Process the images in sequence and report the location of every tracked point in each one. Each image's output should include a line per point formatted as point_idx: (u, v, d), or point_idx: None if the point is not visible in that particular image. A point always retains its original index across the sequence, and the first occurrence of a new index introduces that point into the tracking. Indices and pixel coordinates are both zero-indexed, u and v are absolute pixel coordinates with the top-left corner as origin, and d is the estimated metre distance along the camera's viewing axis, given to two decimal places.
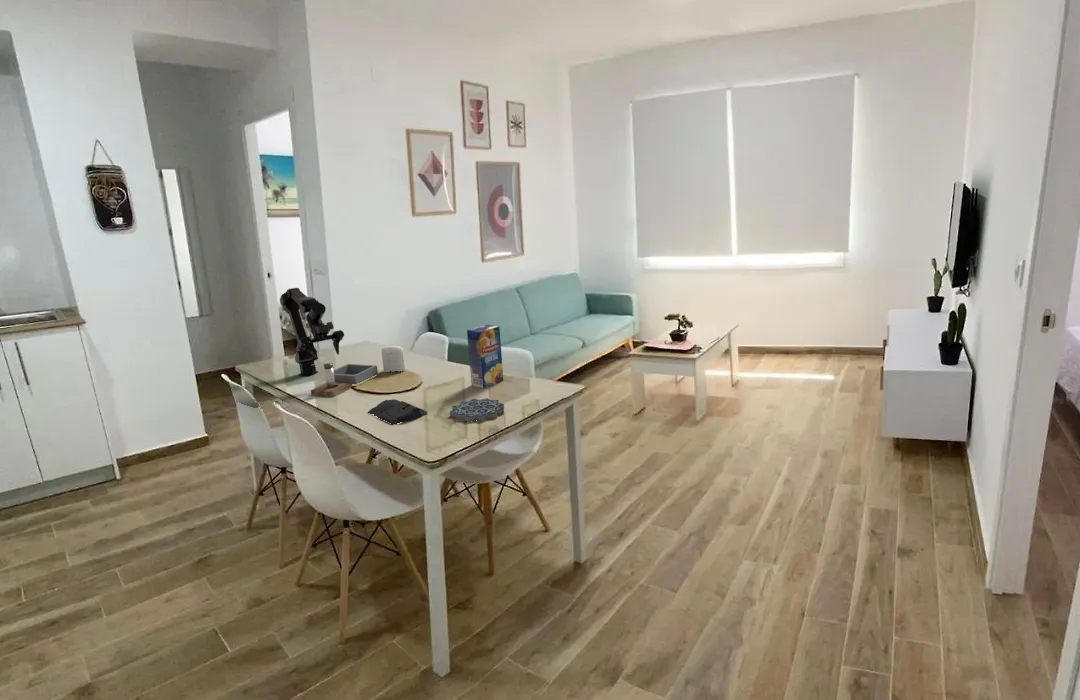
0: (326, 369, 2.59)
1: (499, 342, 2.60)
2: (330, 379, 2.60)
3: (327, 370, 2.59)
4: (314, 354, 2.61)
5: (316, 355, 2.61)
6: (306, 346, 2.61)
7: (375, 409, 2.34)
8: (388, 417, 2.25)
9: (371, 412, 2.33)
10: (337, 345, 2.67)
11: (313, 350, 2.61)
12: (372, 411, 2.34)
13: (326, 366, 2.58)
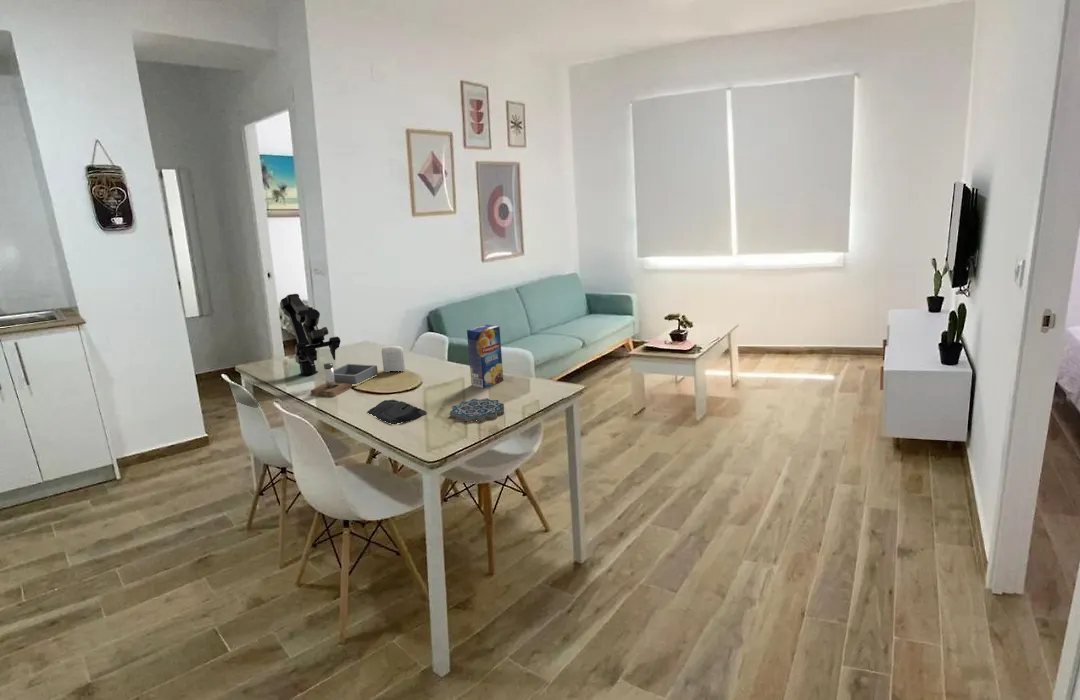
0: (326, 369, 2.59)
1: (499, 342, 2.60)
2: (330, 379, 2.60)
3: (327, 370, 2.59)
4: (310, 359, 2.61)
5: (312, 360, 2.62)
6: (302, 352, 2.62)
7: (374, 409, 2.34)
8: (388, 417, 2.25)
9: (370, 412, 2.33)
10: (333, 350, 2.68)
11: (309, 355, 2.62)
12: (371, 411, 2.33)
13: (326, 366, 2.58)
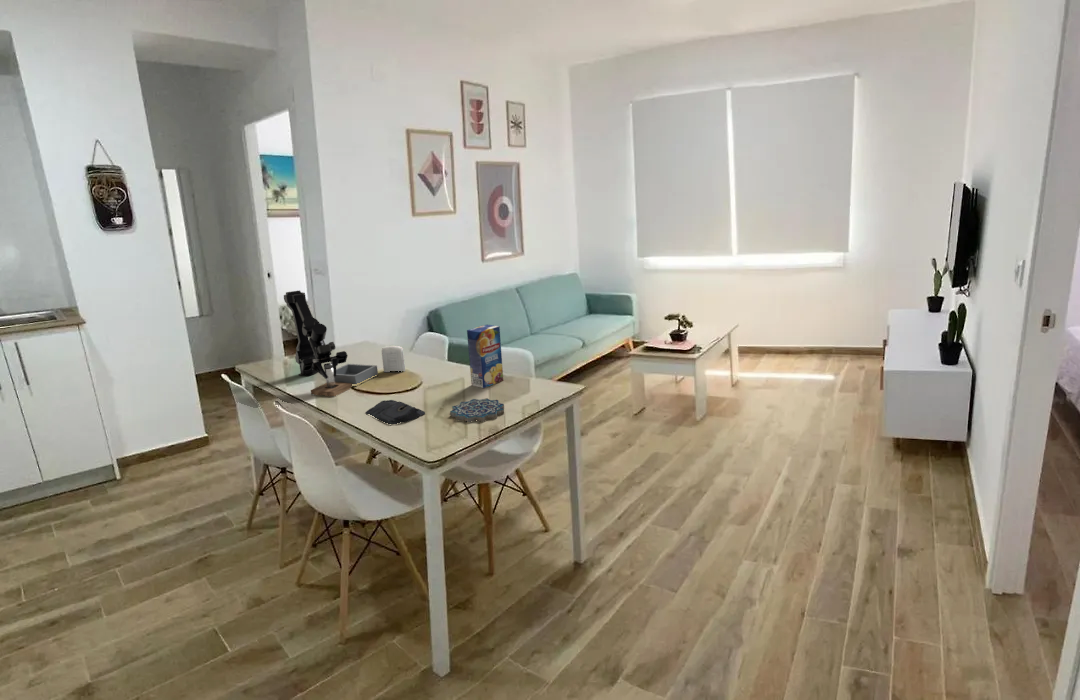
0: (326, 369, 2.59)
1: (499, 342, 2.60)
2: (330, 379, 2.60)
3: (327, 370, 2.59)
4: (323, 373, 2.59)
5: (325, 374, 2.59)
6: (315, 366, 2.60)
7: (373, 409, 2.34)
8: (386, 418, 2.24)
9: (369, 412, 2.33)
10: (334, 367, 2.62)
11: (322, 369, 2.59)
12: (370, 411, 2.33)
13: (326, 366, 2.58)
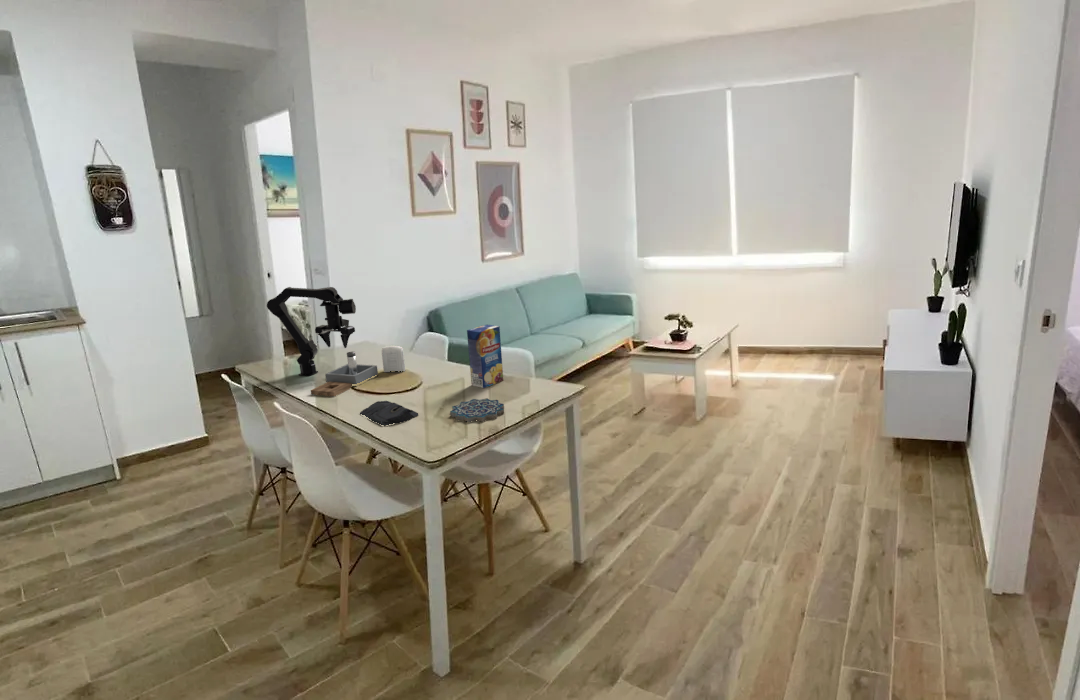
0: (350, 357, 2.73)
1: (499, 342, 2.60)
2: (354, 366, 2.74)
3: (352, 357, 2.73)
4: None
5: None
6: None
7: (366, 410, 2.33)
8: (379, 419, 2.24)
9: (362, 413, 2.33)
10: None
11: None
12: (363, 412, 2.33)
13: (350, 354, 2.72)
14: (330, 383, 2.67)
